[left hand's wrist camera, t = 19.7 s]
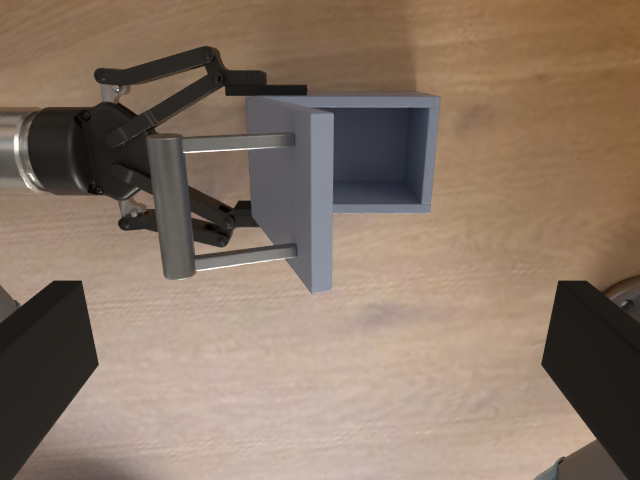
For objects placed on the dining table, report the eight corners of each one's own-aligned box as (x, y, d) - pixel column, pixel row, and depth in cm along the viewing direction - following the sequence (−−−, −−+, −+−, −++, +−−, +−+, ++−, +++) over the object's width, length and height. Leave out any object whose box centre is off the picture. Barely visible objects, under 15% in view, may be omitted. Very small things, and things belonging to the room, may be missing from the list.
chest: (416, 91, 44) (440, 96, 35) (410, 187, 48) (430, 213, 39) (267, 90, 44) (254, 96, 35) (271, 186, 48) (259, 213, 39)
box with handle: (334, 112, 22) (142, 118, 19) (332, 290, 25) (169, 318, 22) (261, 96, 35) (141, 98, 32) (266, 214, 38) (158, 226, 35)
